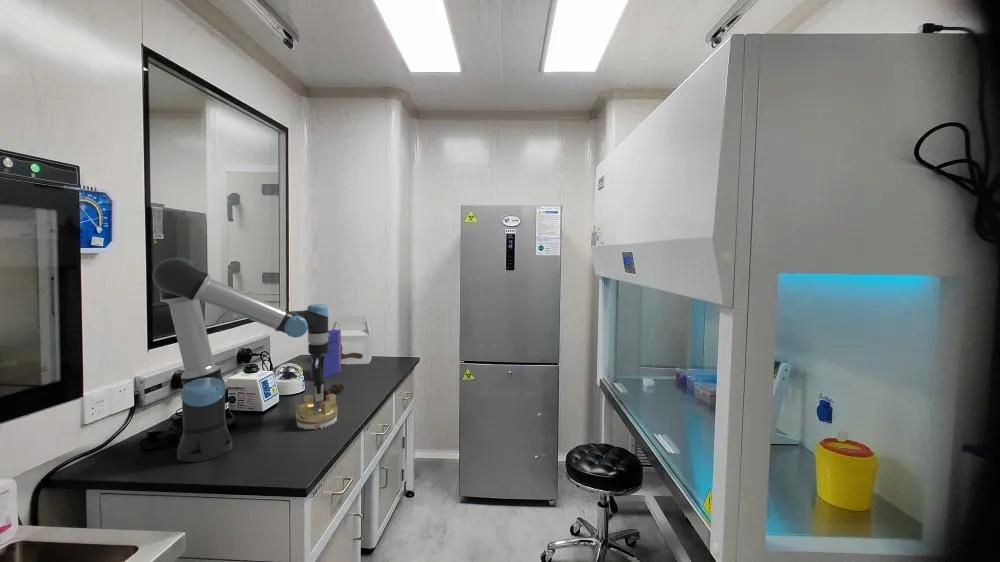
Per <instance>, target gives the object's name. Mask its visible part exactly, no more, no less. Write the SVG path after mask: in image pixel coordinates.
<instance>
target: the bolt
mask: <svg viewBox="0 0 1000 562" xmlns="http://www.w3.org/2000/svg"><path fill="white" fill-rule="evenodd" d="M343 390H344V385H343V384H341V383H338V384H336V383H335V384H332V385H331V388H328V389H327V388H323V400H324V401H326V395H329V394H335V393H339V394H340V393H341V392H342V391H343ZM335 395H336V394H335Z"/></svg>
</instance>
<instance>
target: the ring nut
mask: <svg viewBox="0 0 1000 562" xmlns="http://www.w3.org/2000/svg"><path fill="white" fill-rule="evenodd" d="M314 397H315V396H314V395H313V394H305V395H303V401H302V402H297V403H296V410H295V421H296V423H297V422H299V423H303V424H317V423H323V422H327V421H330V420H332V419H334V418H335V417H337V418H338V414H339V412H338V410H339V409H338V405H337V394H329V395H326V401H320V402H315V401H314ZM314 402H315V403H314Z"/></svg>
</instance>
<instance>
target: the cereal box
mask: <svg viewBox="0 0 1000 562" xmlns="http://www.w3.org/2000/svg"><path fill="white" fill-rule="evenodd" d="M328 334H330V337H328V342H327V343H328V344H329V351H328V352H327V353H324V354H323V356H324V357H325V359H324V373H323V379H324V378H325V379H327V377H328V378H330V377H329V376H331V377H333V376H335V375H334V374H336V375H338V374H337V373H339V374H341V373H342V365H341V345H342V341H341V329H338V330H333V329H331V330H330V329H329V330H328ZM314 356H315V355H314V354H310V380H311V381H314V368H313V364H314V363H313V358H314ZM340 372H341V373H340ZM332 375H333V376H332ZM325 379H324V380H325Z"/></svg>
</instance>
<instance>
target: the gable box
mask: <svg viewBox="0 0 1000 562" xmlns="http://www.w3.org/2000/svg"><path fill="white" fill-rule="evenodd" d="M336 319H337V320H336V321H333V322H332V330H339V325H364V327H365V328H364V329H347V330H346V329H344V330H341V329H340V330H341V342H349V343H355V342H363V344H364V345H363V348H362V351H361V353H359V352H350V353H343V345H342V344H341V364H346V365H368V364H370V363H371V361H372V359H373V357H372V355H373V354H372V351H373V349H372V347H373V346H372V342H373V340H372V329H371V321H368V320H367V318H366V316H365V315H362V316H361V315H360V316H358V315H357V316H338V317H337V318H336Z"/></svg>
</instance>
